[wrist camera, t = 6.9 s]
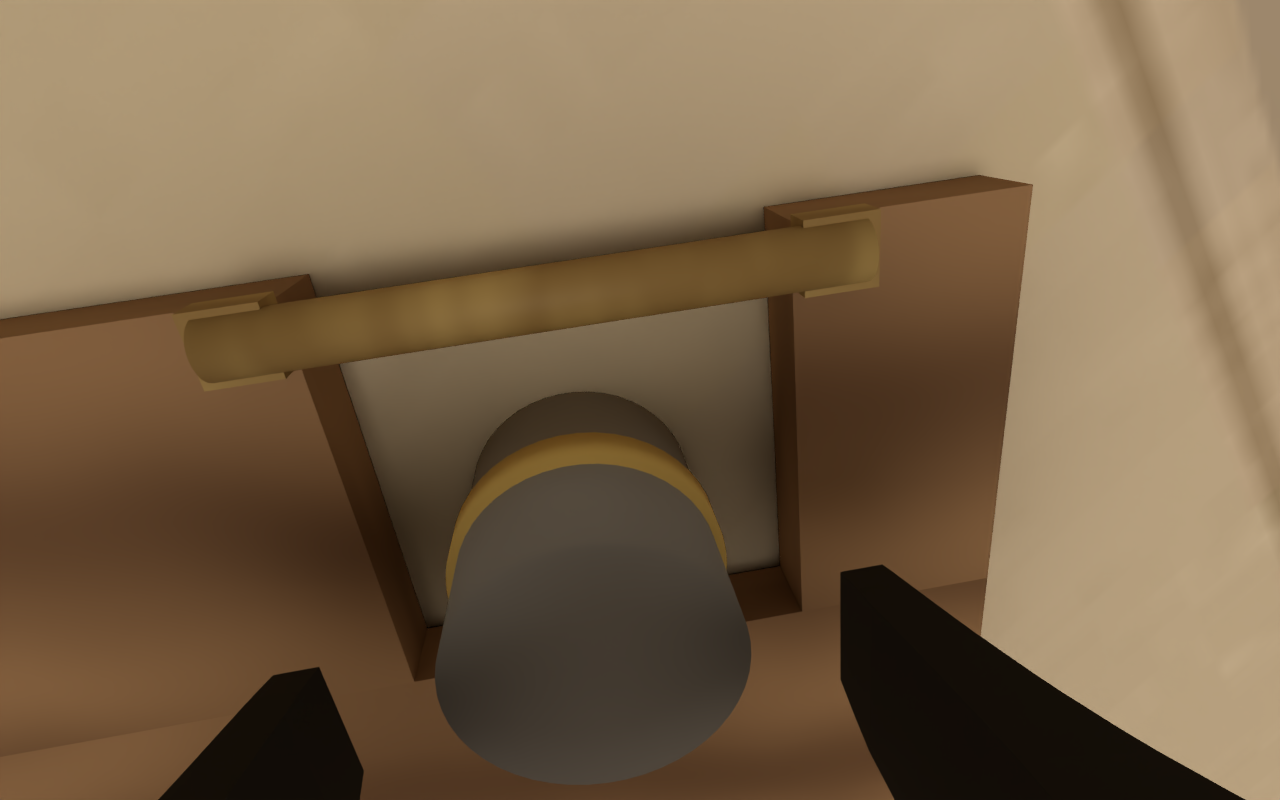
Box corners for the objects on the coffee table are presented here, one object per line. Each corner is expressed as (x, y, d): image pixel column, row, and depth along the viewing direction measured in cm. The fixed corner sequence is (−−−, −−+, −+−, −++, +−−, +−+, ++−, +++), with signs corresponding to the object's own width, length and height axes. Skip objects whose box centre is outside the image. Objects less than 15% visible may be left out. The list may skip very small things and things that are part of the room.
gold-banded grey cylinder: (693, 375, 13) (767, 516, 9) (695, 569, 15) (756, 768, 11) (449, 395, 13) (392, 554, 8) (483, 592, 15) (452, 811, 10)
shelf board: (929, 769, 19) (980, 860, 17) (122, 928, 18) (59, 1050, 15) (979, 169, 12) (1077, 185, 10) (-316, 360, 11) (-544, 427, 9)
